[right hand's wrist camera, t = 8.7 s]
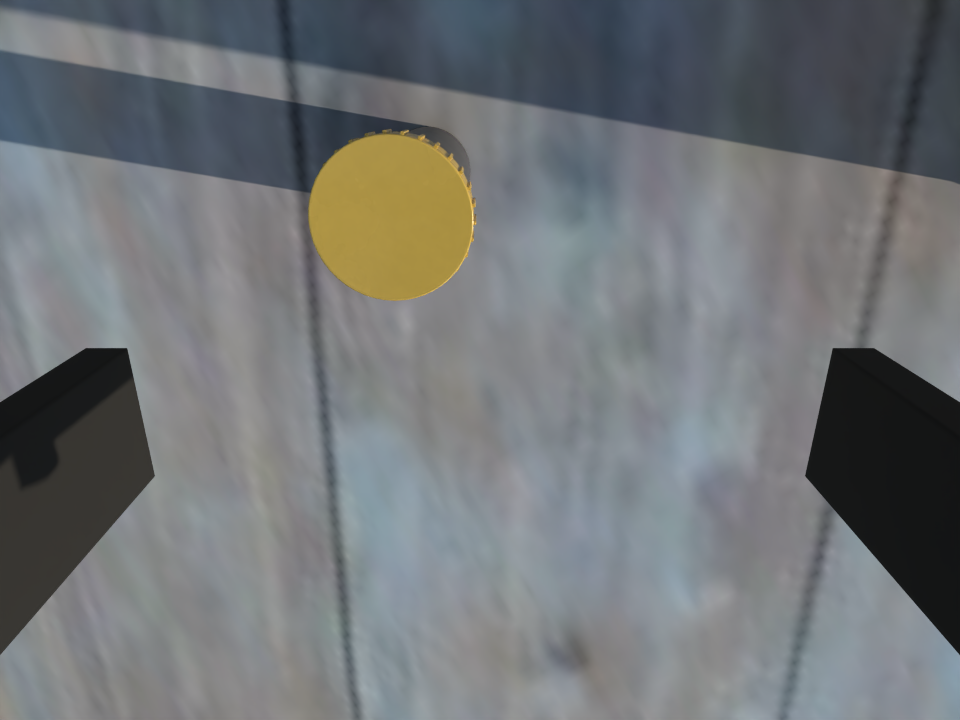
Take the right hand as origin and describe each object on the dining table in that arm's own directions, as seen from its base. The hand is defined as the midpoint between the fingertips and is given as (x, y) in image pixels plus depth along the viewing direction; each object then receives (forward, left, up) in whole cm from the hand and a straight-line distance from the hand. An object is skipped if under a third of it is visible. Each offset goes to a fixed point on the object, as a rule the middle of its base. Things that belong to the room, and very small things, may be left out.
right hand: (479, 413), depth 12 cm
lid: (-1, +3, -9) cm, 10 cm away
